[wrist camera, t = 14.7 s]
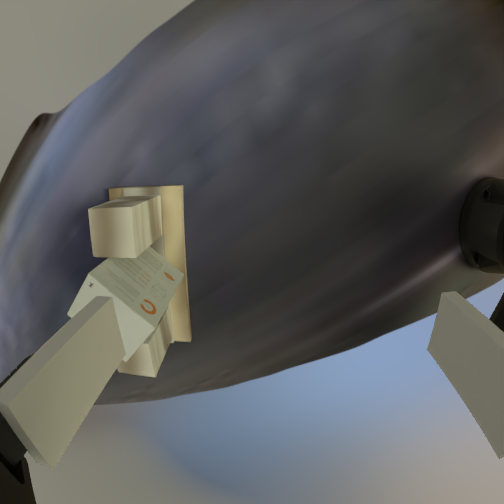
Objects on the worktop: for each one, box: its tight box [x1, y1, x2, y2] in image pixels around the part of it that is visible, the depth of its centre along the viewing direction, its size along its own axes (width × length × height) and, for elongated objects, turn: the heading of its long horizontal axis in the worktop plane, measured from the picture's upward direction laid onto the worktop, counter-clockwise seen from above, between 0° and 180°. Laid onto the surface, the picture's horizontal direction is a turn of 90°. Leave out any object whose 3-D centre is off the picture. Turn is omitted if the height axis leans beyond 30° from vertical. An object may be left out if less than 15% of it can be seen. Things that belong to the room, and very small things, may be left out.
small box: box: [67, 246, 184, 362], centre depth 32 cm, size 8×6×13 cm
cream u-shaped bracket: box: [88, 185, 192, 377], centre depth 34 cm, size 10×22×11 cm, turn 179°
